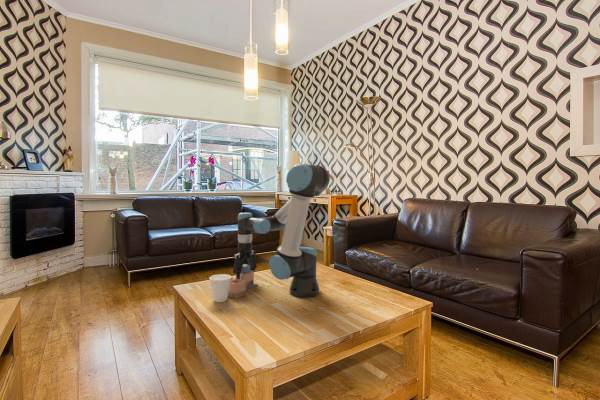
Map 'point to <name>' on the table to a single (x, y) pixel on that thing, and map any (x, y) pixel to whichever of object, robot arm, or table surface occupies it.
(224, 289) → the cup
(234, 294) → the pot
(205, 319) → the table surface
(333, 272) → the table surface
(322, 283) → the table surface
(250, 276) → the pot
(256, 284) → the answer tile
